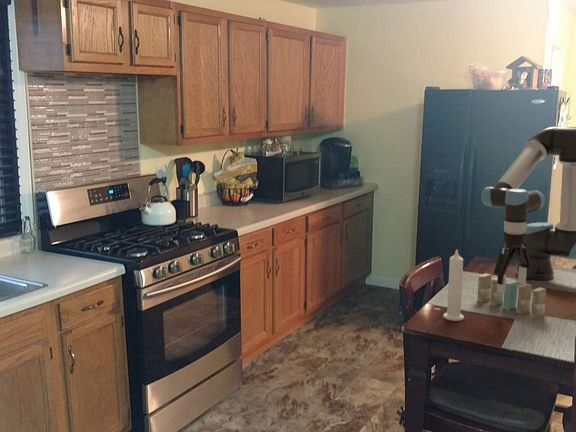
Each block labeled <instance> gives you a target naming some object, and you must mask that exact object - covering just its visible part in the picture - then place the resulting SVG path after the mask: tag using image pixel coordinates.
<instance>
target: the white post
mask: <svg viewBox="0 0 576 432" xmlns="http://www.w3.org/2000/svg"><path fill="white" fill-rule="evenodd" d="M463 268H464V258H463V257H462V256H460V254H459V250H458V249H456V250H455V251H454V255H452V256H450V257H449V268H448V269H449V270H448V291H447V311H446V312H444V313H443V319H445V320H448V321H451V322H460V321H463V320H464V318H465V316H464V315H463V314H462V313H461V311H462V308H461V307H462V293H463V292H462V291H463V290H462V287H463Z"/></svg>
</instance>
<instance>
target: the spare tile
mask: <svg viewBox="0 0 576 432" xmlns="http://www.w3.org/2000/svg"><path fill="white" fill-rule="evenodd" d="M518 287H519V284H518V280H514V279H512V280H508V281H506V282H505V293H503V303H502V305H503V306H502V309H503V310H506V311H511V310H512V309H515V308H516V309H517V301H518Z"/></svg>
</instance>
